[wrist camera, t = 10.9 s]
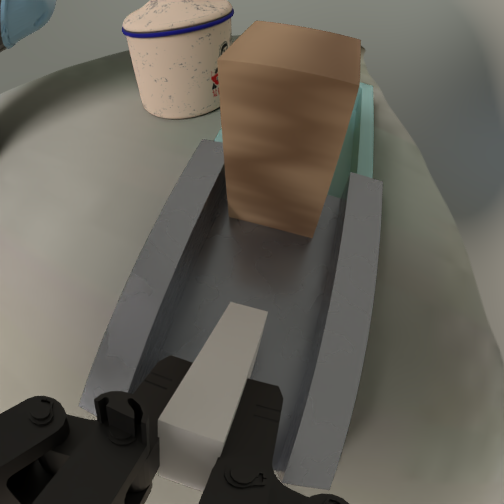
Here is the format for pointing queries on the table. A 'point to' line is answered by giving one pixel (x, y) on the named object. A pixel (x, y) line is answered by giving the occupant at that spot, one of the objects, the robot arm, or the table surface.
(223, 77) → the block
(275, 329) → the slot board
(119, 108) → the table surface
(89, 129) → the table surface
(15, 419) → the robot arm
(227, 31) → the teacup with lid
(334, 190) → the tray
